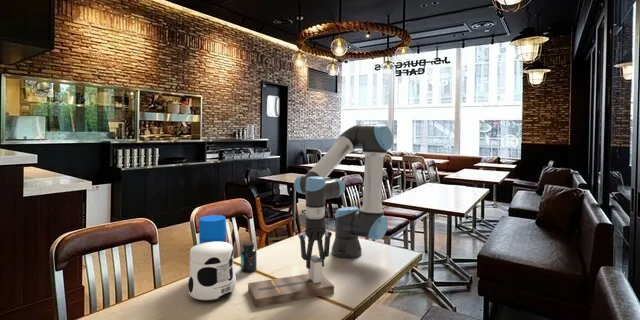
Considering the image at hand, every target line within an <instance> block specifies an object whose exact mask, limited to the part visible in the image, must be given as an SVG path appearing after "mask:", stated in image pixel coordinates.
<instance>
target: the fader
mask: <svg viewBox="0 0 640 320" xmlns="http://www.w3.org/2000/svg"><path fill="white" fill-rule="evenodd" d="M319 257H320V256H318V255H317V254H313V255H311V260H312V261H313V277H312V278H311V277H310V276H309V278H310V279H311V280H312V281H313V282H314V283H318V282H322V274H323V267H322V260H321V259H320V258H319Z"/></svg>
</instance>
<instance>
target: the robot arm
mask: <svg viewBox="0 0 640 320" xmlns="http://www.w3.org/2000/svg"><path fill="white" fill-rule="evenodd" d="M393 139H394V138H393V133H392V131H391V129H390V126H388V125H386V124H379V123H375V124H357V125H353V126H351V127H350V128H348V129H346V130H344V131H343V132H342V133H341V134H340V135H339V136H338V137H337V138H336V140H335V143H334V144H333V146H331V148H329V150H328V151H327V152H326V153H325V154H324V155H323V156H322V157H321V158H320V159H319V160H318V161H317V163H316V164H314V166H313V167H311V169H310V170H309V171H308V172H307V173H306V174H305V175H299V176H297V177H296V178H295V180H294V183H293V188H294V190H295V191H296V192H297V193H299V194H302V195H305V216H306V217H305V228H304V229H305V230H304V232H302V233H299V234H298V238H299V242H300V255H301V257H300V258H302V260H303V261H305V267H306V269H307V270H308V271H307V274H308V275H309V276H310V277H311V278H312V277H313V261H312V260H311V256H313V255H312V254H313V247H314V244H315V242H317V250H318V255H319V256H318V257H319V258H320V259H321V260H322V268H323V267H325V260H326V258H328V257H329V256H330V244H331V237H332V235H333V232H331V231H329V230H326V228H325V227H326V218H325V215H326V200H330V199H334V198H335V199H336V198H338V197H340V196H343V195H344V193H345V191H346V185H345V183H344V181H343V180H342V179H340V178H332V179H331V178H328V176H329V175H330V174H331V173H332V172H333V170H334V169H336V167H337V166H338V165H339V164H340V163H341V162H342V160H343V159H344V158H345V157H346V156H347V155H348V154H351V153H352V152H353V151H354V150H358V149H362V151H361V153H362V154H363V156H364V173H363V175H364V176H363V189H362V190H363V191H362V192H363V194H362V206H360V208H359V207H357V206H345V207H340V208H337V209H336V211H335V214H334V215H335V216H334V222H335V223H334V224H335V225H334V229H335V231H334V240H333V244H332V246H331V254H332V255H333V256H334V257H337V258H341V259H354V258H357V257H358V258H359V257H360V256H361V255H362V247H361V243H360V240H359V237H361V238H364V239H365V238H367V239H369V240H375V241H379V240H381V239H383V238H384V236H385V235H386V233H387V231H388V227H389V220H388V217H387V216H385V215H384V214H385V213H384V210H383V209H382V187H383V175H384V174H383V171H384V158H385V156H386V155H387V154H388V150H390V149H391V148H392V145H393V142H394V140H393ZM306 237H307V239H308V240H307V248H306ZM323 237H324V244H323Z"/></svg>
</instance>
